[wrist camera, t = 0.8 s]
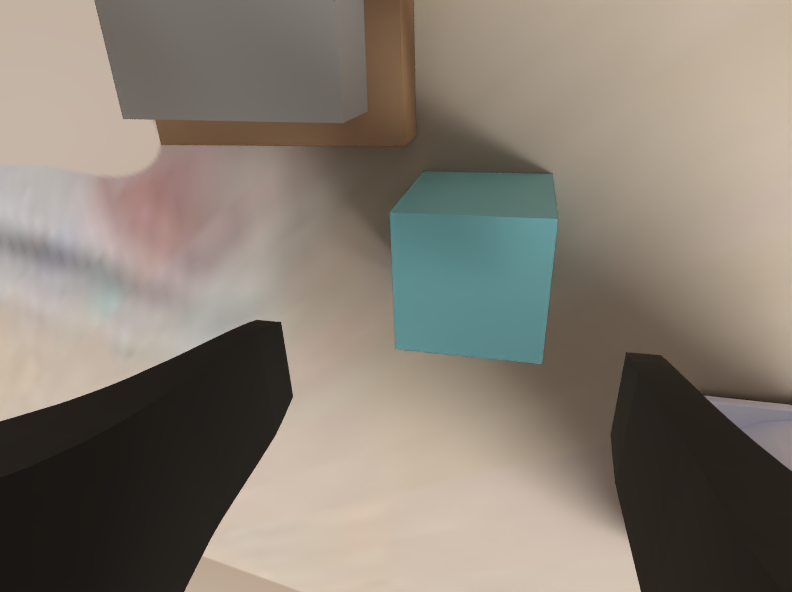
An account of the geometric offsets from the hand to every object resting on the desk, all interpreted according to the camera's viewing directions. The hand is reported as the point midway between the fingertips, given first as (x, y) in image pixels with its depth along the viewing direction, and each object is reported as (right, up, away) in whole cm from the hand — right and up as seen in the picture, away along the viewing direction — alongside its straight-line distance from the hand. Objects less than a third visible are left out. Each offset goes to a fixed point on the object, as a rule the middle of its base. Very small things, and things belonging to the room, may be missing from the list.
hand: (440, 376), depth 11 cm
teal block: (+2, +4, +8) cm, 10 cm away
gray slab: (-5, +11, +5) cm, 13 cm away
